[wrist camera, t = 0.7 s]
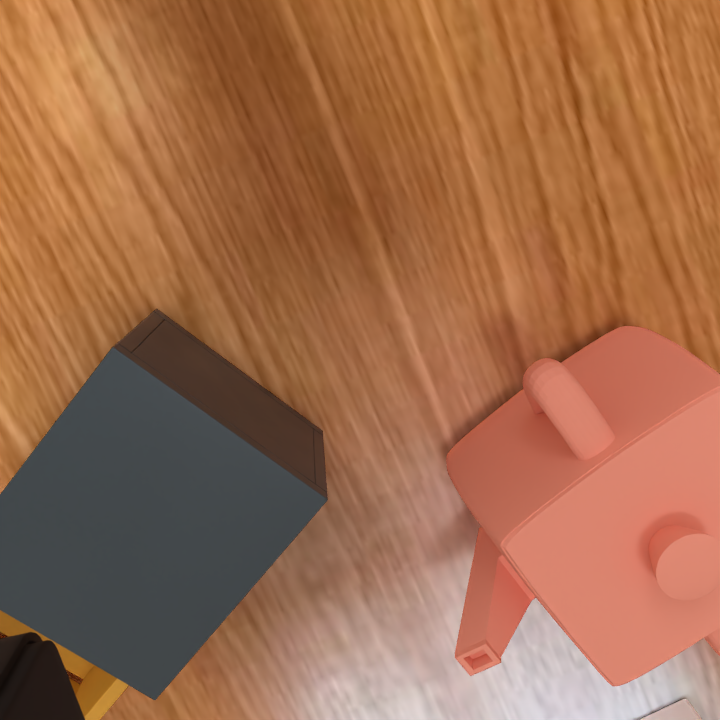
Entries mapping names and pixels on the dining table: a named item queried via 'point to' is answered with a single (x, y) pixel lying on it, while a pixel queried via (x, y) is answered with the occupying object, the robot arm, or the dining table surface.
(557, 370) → the teapot
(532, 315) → the dining table surface
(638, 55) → the dining table surface
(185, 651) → the cabinet
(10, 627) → the yellow drawer
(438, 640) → the dining table surface
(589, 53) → the dining table surface
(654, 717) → the paper bag
